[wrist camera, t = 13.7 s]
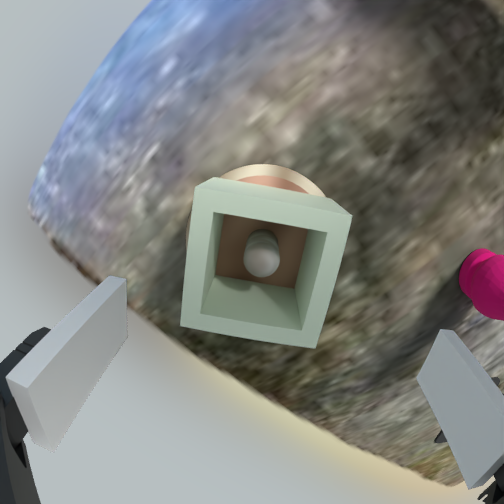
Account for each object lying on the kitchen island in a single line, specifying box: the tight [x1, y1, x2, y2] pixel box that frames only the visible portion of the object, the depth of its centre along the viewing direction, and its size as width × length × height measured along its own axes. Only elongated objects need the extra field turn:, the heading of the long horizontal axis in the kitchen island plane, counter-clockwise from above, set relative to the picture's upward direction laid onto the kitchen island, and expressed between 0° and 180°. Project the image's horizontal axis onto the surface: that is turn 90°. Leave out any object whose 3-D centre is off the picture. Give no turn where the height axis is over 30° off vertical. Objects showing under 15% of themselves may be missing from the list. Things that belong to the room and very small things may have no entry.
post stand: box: [186, 164, 326, 289], centre depth 29 cm, size 15×15×8 cm
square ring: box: [180, 177, 352, 348], centre depth 27 cm, size 11×11×8 cm
